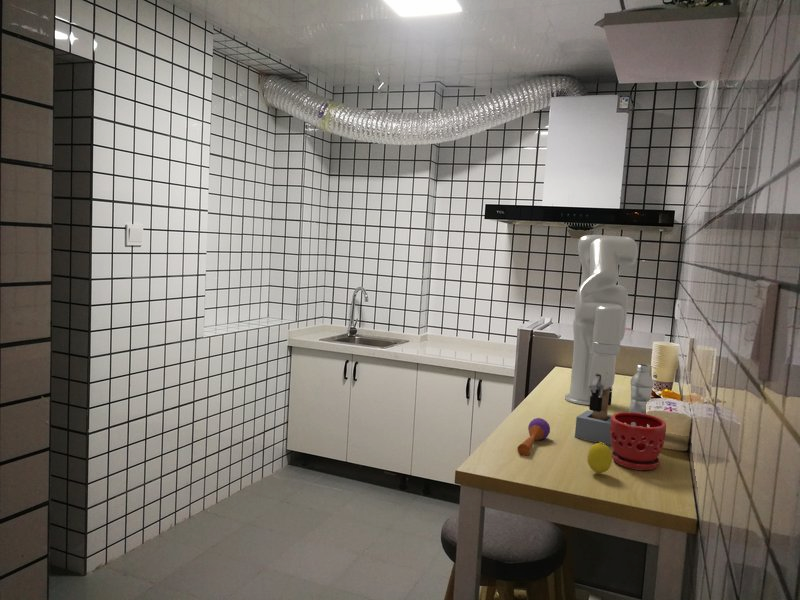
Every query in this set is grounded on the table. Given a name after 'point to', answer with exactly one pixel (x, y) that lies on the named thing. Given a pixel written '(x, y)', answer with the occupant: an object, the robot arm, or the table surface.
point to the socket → (593, 428)
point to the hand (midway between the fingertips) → (600, 407)
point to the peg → (604, 409)
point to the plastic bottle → (640, 390)
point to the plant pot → (637, 440)
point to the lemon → (599, 458)
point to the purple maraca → (534, 435)
